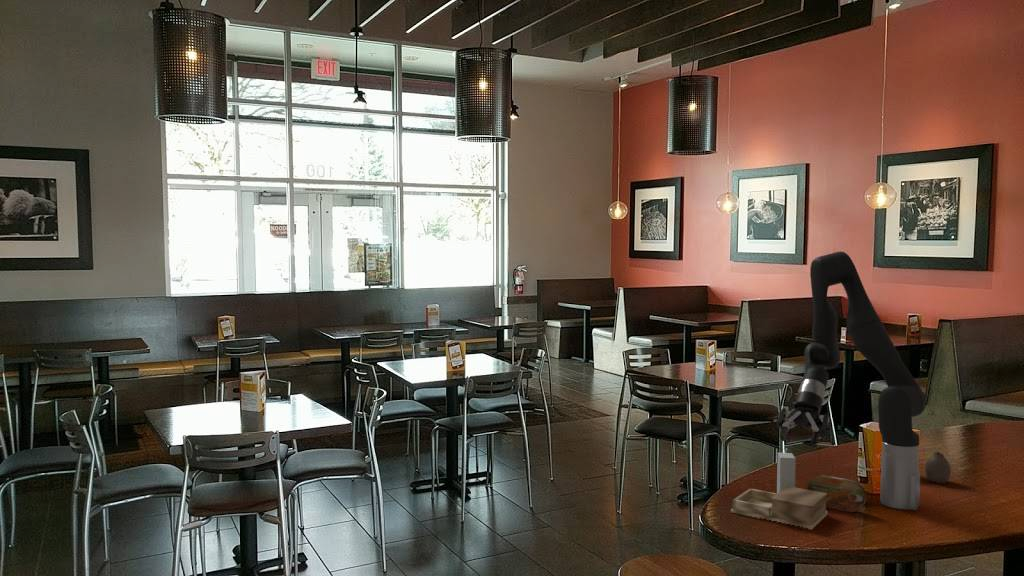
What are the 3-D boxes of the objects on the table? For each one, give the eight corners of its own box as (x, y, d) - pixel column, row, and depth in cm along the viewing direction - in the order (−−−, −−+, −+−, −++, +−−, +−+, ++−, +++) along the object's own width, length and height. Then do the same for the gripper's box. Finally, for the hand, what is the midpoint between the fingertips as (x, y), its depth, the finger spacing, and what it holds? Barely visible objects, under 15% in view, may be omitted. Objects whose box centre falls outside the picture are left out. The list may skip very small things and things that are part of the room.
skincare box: (795, 500, 214) (796, 458, 213) (779, 499, 215) (780, 457, 214) (792, 493, 220) (792, 452, 219) (776, 492, 221) (777, 452, 220)
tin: (806, 503, 212) (807, 473, 211) (810, 500, 214) (811, 471, 214) (863, 515, 202) (864, 484, 201) (867, 512, 204) (868, 481, 204)
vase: (926, 483, 229) (926, 454, 229) (923, 477, 235) (924, 449, 235) (952, 486, 226) (953, 457, 226) (948, 479, 233) (949, 451, 232)
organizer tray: (827, 514, 203) (827, 492, 202) (811, 529, 192) (812, 506, 191) (749, 498, 215) (750, 478, 215) (730, 512, 204) (731, 491, 204)
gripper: (783, 387, 235) (770, 431, 227) (832, 393, 226) (820, 438, 218) (789, 401, 240) (776, 445, 231) (836, 407, 231) (825, 453, 222)
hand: (797, 442), depth 225 cm, fingers open, 8 cm apart
